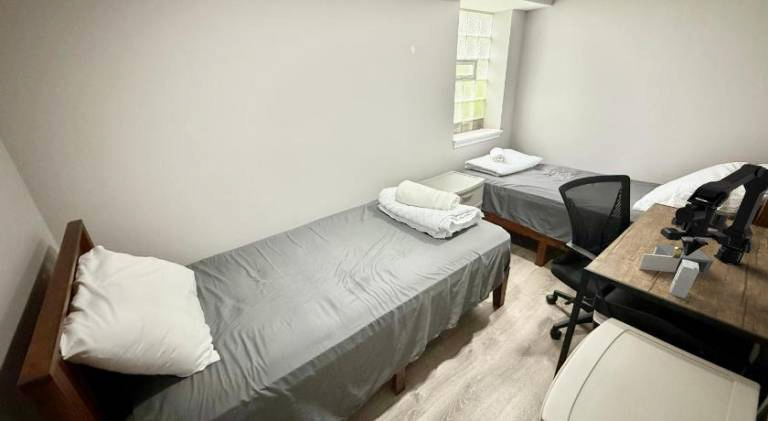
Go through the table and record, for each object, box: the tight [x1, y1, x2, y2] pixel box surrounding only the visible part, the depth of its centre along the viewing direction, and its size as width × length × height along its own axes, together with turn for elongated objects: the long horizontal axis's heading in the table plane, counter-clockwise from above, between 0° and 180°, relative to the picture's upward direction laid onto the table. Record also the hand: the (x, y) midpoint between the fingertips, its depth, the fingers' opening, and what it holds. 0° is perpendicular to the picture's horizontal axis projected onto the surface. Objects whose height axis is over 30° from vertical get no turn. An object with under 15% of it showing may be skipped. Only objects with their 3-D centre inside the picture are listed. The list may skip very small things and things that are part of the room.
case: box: [652, 243, 714, 276], centre depth 126 cm, size 14×10×6 cm
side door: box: [638, 245, 683, 273], centre depth 122 cm, size 12×2×11 cm, turn 76°
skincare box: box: [669, 259, 699, 299], centre depth 110 cm, size 6×4×12 cm
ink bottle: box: [708, 209, 731, 232], centre depth 148 cm, size 10×9×12 cm
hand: (685, 255), depth 120 cm, fingers closed
